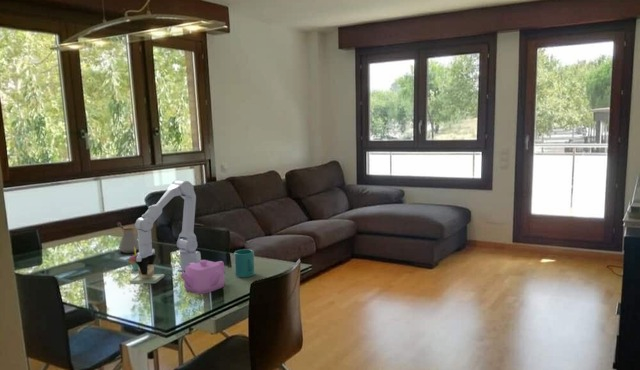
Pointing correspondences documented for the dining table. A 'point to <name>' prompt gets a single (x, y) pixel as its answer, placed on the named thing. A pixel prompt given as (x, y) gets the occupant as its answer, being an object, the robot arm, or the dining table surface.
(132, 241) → the coffee pot
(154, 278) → the grey green picture frame
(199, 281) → the pink lidded box
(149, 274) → the maple cube
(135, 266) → the cupcake
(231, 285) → the dining table surface
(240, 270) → the cup
